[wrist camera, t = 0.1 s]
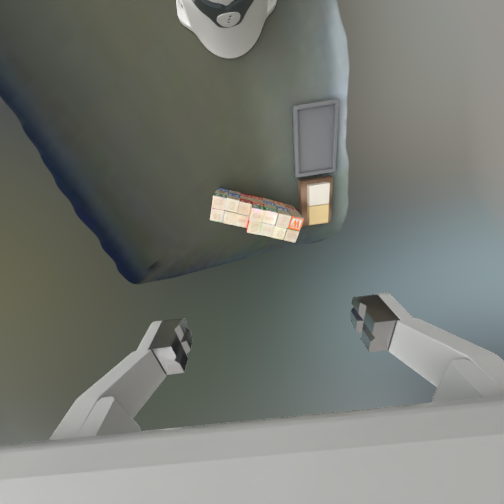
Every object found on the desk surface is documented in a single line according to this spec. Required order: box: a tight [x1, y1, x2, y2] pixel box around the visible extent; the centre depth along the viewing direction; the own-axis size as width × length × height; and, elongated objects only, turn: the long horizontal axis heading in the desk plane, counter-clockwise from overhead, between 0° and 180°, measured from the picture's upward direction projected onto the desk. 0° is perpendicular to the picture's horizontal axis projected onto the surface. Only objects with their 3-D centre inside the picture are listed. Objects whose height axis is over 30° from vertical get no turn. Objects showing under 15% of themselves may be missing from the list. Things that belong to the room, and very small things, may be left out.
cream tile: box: [307, 182, 330, 206], centre depth 50 cm, size 5×5×2 cm
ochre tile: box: [307, 204, 329, 225], centre depth 53 cm, size 5×5×2 cm
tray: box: [292, 98, 340, 178], centre depth 48 cm, size 15×10×2 cm, turn 8°
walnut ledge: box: [298, 176, 333, 226], centre depth 54 cm, size 12×8×3 cm, turn 8°
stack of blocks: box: [210, 188, 304, 243], centre depth 50 cm, size 21×6×12 cm, turn 76°
